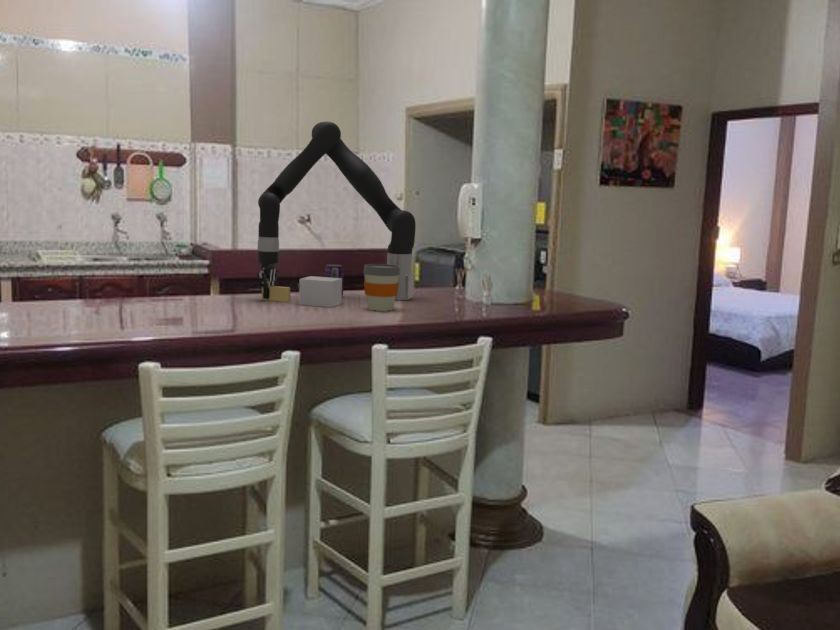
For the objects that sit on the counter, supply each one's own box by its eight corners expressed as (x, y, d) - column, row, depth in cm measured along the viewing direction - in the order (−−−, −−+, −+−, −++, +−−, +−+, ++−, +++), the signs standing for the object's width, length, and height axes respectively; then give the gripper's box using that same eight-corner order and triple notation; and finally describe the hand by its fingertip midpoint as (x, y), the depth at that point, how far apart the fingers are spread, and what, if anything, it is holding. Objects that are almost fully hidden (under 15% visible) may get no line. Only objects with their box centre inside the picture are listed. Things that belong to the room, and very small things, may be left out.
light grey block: (341, 303, 281) (342, 278, 280) (331, 307, 272) (332, 281, 270) (308, 300, 284) (308, 276, 283) (297, 304, 275) (297, 278, 273)
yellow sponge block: (290, 301, 281) (290, 287, 281) (287, 301, 279) (288, 287, 279) (264, 299, 284) (264, 285, 283) (261, 299, 282) (261, 285, 281)
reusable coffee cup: (398, 312, 267) (399, 268, 264) (361, 311, 267) (362, 266, 264) (398, 306, 279) (400, 264, 277) (363, 305, 279) (364, 263, 277)
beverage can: (346, 297, 298) (347, 265, 296) (335, 298, 292) (335, 266, 290) (332, 295, 301) (332, 263, 299) (320, 296, 295) (320, 264, 293)
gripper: (270, 251, 272) (269, 301, 275) (285, 249, 285) (285, 296, 288) (250, 250, 274) (249, 299, 276) (266, 247, 287) (266, 295, 290)
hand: (267, 298), depth 282 cm, fingers closed on yellow sponge block, 1 cm apart
